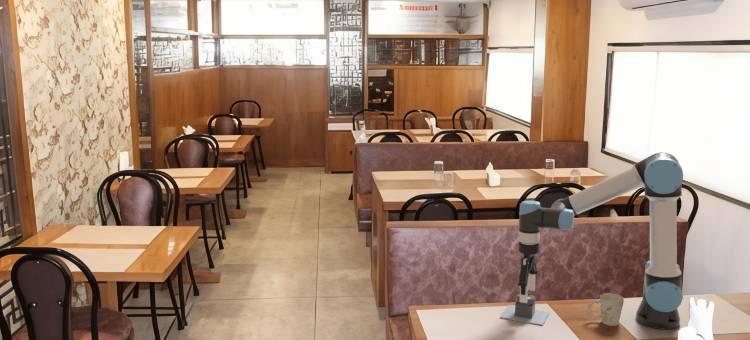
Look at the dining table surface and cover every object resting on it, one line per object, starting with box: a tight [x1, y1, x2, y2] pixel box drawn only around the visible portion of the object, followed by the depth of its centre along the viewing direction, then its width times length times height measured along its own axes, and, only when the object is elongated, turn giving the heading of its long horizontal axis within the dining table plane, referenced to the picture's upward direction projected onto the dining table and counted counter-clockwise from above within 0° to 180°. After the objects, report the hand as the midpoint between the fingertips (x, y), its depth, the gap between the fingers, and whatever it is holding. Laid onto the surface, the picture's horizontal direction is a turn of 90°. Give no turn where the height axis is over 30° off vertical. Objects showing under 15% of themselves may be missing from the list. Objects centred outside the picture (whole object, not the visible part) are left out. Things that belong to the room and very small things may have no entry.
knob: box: [514, 293, 536, 319], centre depth 251 cm, size 7×7×8 cm
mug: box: [586, 292, 625, 327], centre depth 245 cm, size 8×13×10 cm, turn 78°
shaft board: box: [499, 304, 550, 326], centre depth 251 cm, size 16×13×5 cm
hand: (527, 296), depth 250 cm, fingers open, 13 cm apart
